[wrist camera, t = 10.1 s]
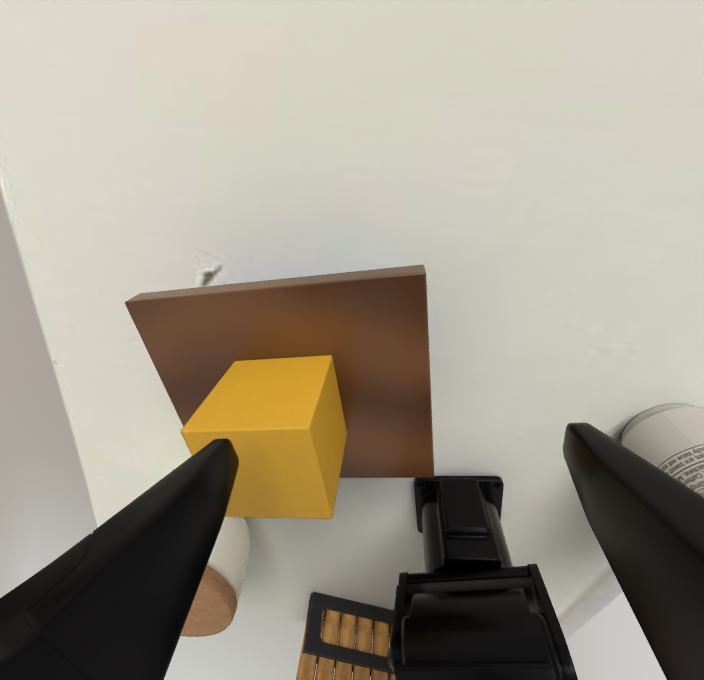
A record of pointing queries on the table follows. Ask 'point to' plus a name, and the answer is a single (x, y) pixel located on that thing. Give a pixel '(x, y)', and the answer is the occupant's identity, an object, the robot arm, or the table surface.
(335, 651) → the ammunition clip
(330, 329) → the board
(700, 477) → the energy drink can
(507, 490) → the table surface
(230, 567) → the trinket box
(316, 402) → the yellow block
